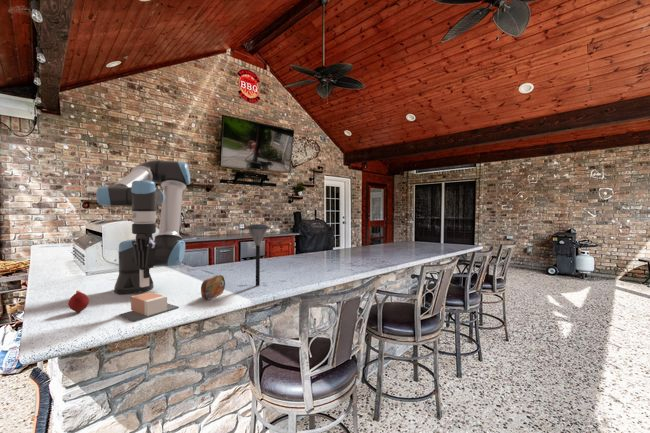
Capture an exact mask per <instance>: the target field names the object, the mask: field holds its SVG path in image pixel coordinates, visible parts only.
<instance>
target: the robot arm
mask: <svg viewBox="0 0 650 433" xmlns="http://www.w3.org/2000/svg"><path fill="white" fill-rule="evenodd" d="M156 184H160V186H161V187H162V188H163V190H161V189H159V188H158V187H156ZM190 184H191V175H190V168H189V164H188V163H186V162H185V161H178V160H177V161H176V160H175V161H173V160H172V161H171V160H155V159H154V160H148V161H145V162H142V163H140V164H138V165H135V166H134V167H132V169H131V170H130V173H128V174H127V175H125V176H124V177H123V178H121V179H119V180H118V181H117V182H115V183H114V184H113V185H111V186H99V187H98V188H97V190H96V194H95V197H96V202H97V204H98V205H100V206H101V207H103V206H104V207H131V214H130V217H131V222H132V224H131V233H132V234H133V235H135V238H134V239H133V238H132V239H128V240H123V241H121V242H120V243H119V244H118V250H117V251H118V252H117V253H118V276H117V280H115V281H116V282H115V285H114V294H117V295H118V294H120V295H130V294H131V295H133V294H138V293H144V292H147V291H151V290H153V288H154V281H153V278H152V275H151V273H150V269H151V268H154V267H166V266H167V267H171V266H178V265H180V264H181V263H182V261H183V260H184V257H185V253H186V241H184V240H183V237H182V236H181V234H180V226H181V225H180V224H181V215H182V214H181V213H182V202H183V192H184V190H186V189H187V185H190ZM160 206H161V211H160V221H159V230H158V234H156V235H155V236H153V234H155V233H157V230H156V229H157V228H156V226H157V224H156V221H157V219H156V218H157V217H156V214H157V213H156V208H157V207H160ZM153 237H154V238H153Z"/></svg>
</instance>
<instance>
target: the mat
mask: <svg viewBox="0 0 650 433" xmlns="http://www.w3.org/2000/svg"><path fill="white" fill-rule="evenodd" d="M179 308H180V307H179V306H177V305H174V304H171V303H168V302H167V310H166V311H163V312H159V313H156V314H153V315H149V316H146V315H143V314H141V313H138V312H135V311H132V310H130V311H126V312H123V313H119V314H118V316H119V317H121V318H123V319H127V320H129V321H131V322H137V321H141V320H145V319H148V318H151V317H154V316H157V315H161V314H163V313H167V312H170V311H173V310H177V309H179Z"/></svg>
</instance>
